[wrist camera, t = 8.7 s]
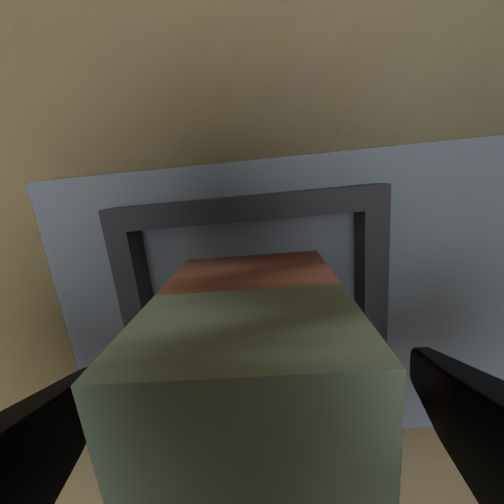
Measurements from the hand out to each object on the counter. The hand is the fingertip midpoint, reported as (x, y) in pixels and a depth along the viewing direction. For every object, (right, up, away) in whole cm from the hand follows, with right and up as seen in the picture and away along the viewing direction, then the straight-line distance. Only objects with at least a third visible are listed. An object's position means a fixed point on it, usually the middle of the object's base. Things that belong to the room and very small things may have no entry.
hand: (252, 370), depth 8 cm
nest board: (+2, +1, +4) cm, 5 cm away
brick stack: (0, +1, +3) cm, 4 cm away
